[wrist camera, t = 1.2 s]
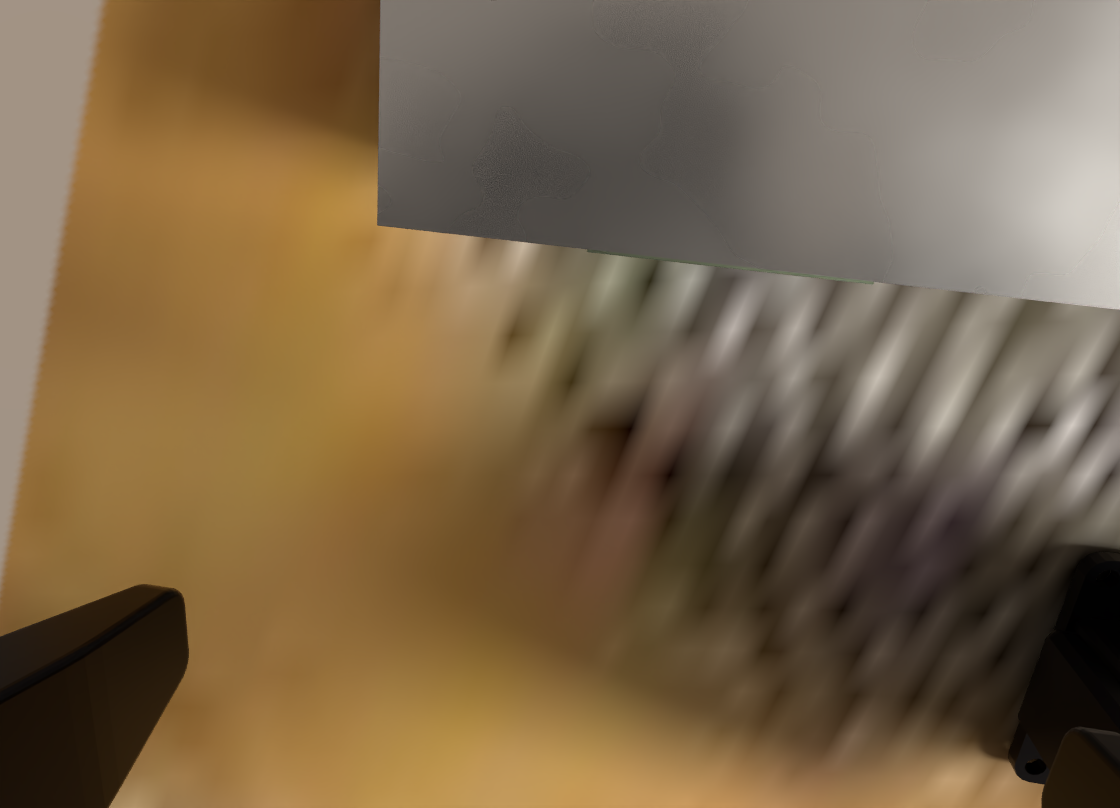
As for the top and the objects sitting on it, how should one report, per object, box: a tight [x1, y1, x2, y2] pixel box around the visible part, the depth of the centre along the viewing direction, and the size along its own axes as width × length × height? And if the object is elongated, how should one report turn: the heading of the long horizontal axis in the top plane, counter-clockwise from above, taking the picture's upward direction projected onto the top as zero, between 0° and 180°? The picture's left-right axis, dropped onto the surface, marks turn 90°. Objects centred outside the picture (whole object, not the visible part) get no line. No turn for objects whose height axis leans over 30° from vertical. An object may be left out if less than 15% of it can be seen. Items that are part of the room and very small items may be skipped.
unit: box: [377, 0, 1120, 310], centre depth 12 cm, size 10×6×8 cm, turn 85°
